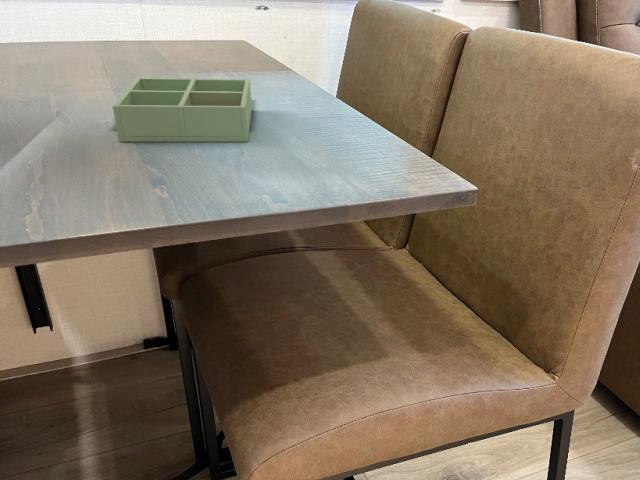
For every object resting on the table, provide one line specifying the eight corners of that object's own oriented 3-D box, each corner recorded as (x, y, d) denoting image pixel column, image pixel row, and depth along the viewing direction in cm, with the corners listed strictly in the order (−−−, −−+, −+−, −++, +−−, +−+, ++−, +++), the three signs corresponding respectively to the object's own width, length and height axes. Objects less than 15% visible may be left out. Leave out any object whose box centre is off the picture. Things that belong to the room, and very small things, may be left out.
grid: (119, 141, 74) (112, 106, 72) (141, 108, 86) (136, 77, 84) (247, 141, 76) (245, 107, 74) (251, 109, 88) (249, 79, 86)
